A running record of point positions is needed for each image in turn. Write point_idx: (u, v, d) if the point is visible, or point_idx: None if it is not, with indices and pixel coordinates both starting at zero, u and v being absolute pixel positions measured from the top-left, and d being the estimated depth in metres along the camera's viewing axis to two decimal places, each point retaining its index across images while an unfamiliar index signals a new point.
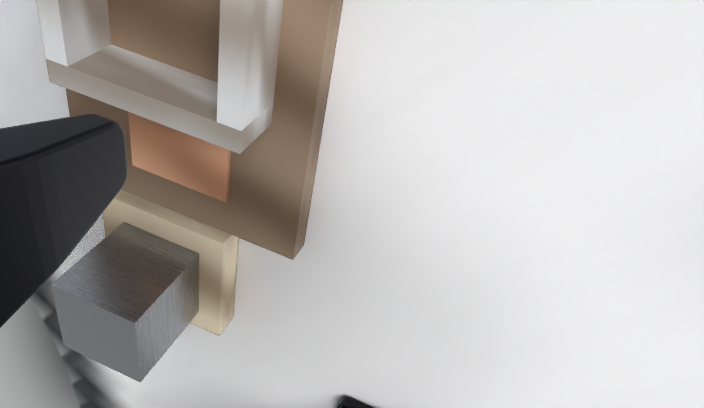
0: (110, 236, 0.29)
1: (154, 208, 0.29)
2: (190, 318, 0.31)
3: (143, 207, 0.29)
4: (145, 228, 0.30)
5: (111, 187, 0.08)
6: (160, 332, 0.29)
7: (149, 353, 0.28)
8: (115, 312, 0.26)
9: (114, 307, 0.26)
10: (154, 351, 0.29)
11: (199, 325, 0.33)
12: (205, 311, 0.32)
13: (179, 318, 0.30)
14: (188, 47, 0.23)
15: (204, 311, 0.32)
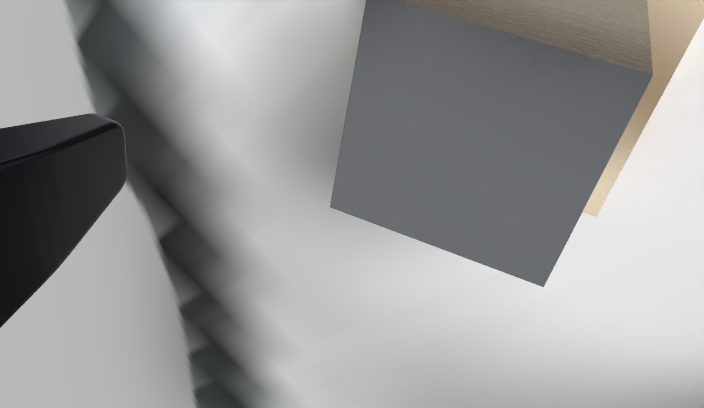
0: None
1: None
2: None
3: None
4: None
5: (111, 187, 0.08)
6: None
7: None
8: (581, 52, 0.09)
9: (567, 42, 0.09)
10: None
11: None
12: None
13: None
14: None
15: None
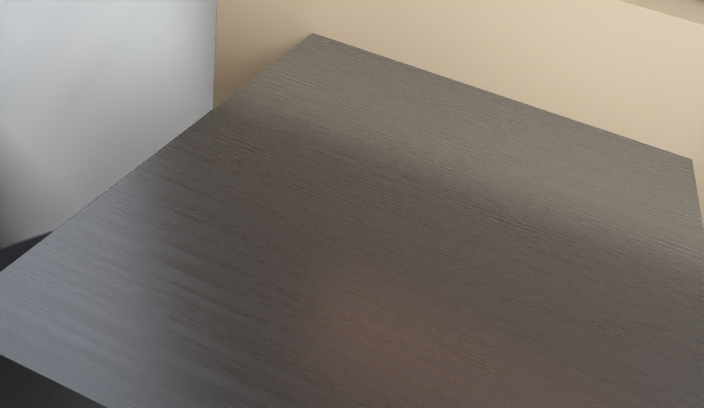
0: (276, 73, 0.06)
1: None
2: None
3: None
4: (417, 54, 0.07)
5: None
6: None
7: None
8: None
9: None
10: None
11: None
12: None
13: None
14: None
15: None
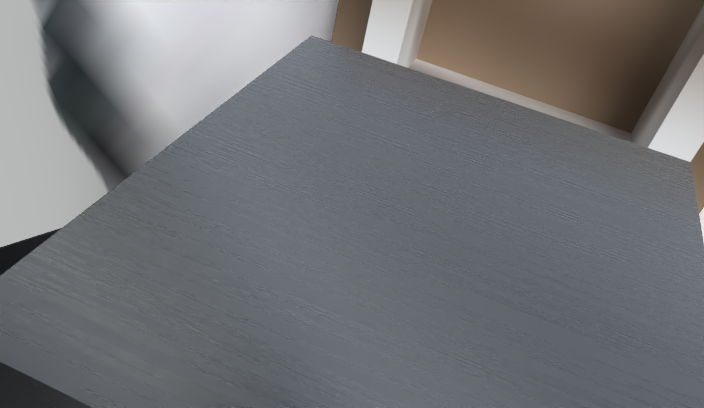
0: (275, 77, 0.06)
1: None
2: None
3: None
4: None
5: None
6: None
7: None
8: None
9: None
10: None
11: None
12: None
13: None
14: (548, 65, 0.17)
15: None
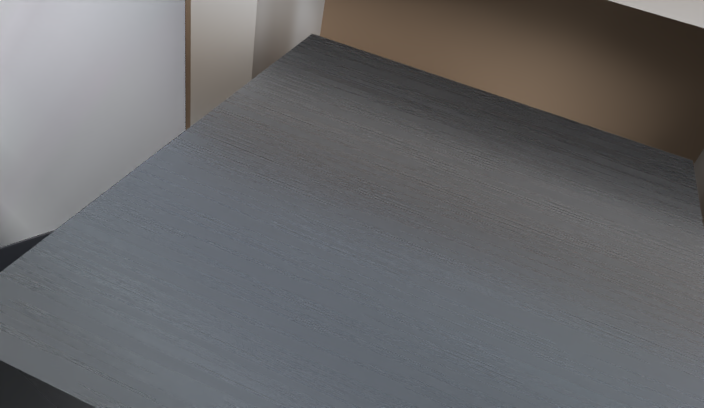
0: (275, 75, 0.06)
1: None
2: None
3: None
4: None
5: None
6: None
7: None
8: None
9: None
10: None
11: None
12: None
13: None
14: None
15: None
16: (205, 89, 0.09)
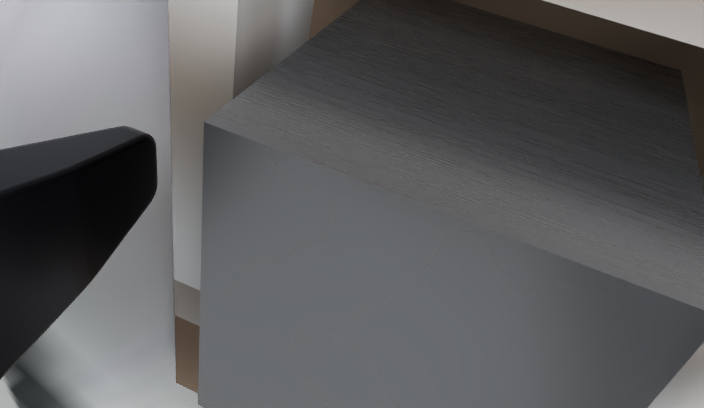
0: (366, 5, 0.08)
1: None
2: None
3: None
4: None
5: (142, 200, 0.08)
6: None
7: None
8: (586, 259, 0.05)
9: (560, 230, 0.05)
10: None
11: None
12: None
13: None
14: None
15: None
16: (185, 106, 0.09)
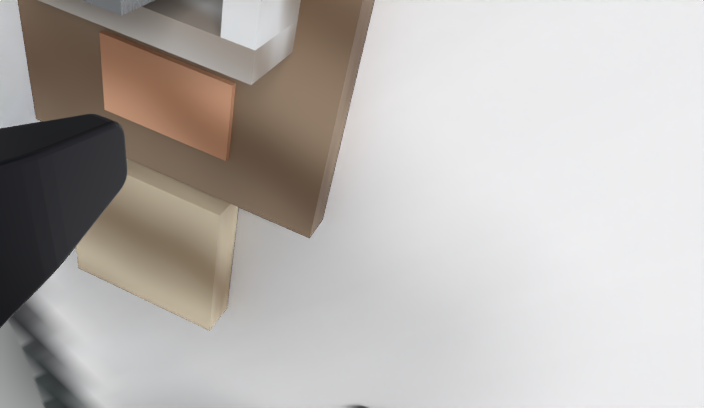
0: None
1: (132, 168, 0.23)
2: None
3: None
4: (120, 193, 0.24)
5: (111, 187, 0.08)
6: None
7: None
8: None
9: None
10: None
11: (185, 317, 0.27)
12: (193, 300, 0.26)
13: None
14: None
15: (192, 300, 0.26)
16: None
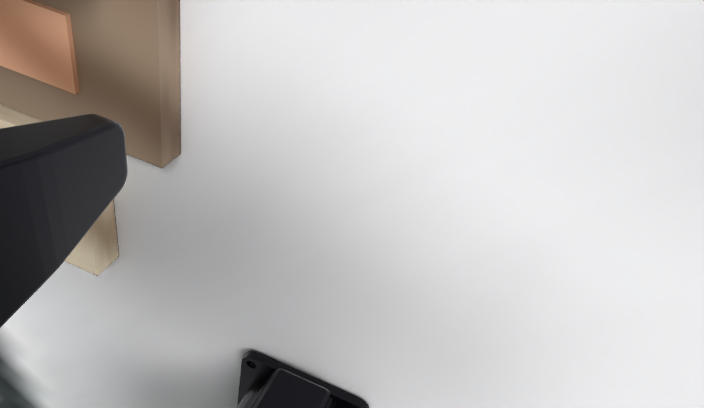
0: None
1: (4, 112, 0.24)
2: None
3: None
4: None
5: (111, 187, 0.08)
6: None
7: None
8: None
9: None
10: None
11: (75, 264, 0.28)
12: (78, 244, 0.27)
13: None
14: None
15: (77, 245, 0.27)
16: None
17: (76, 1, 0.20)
